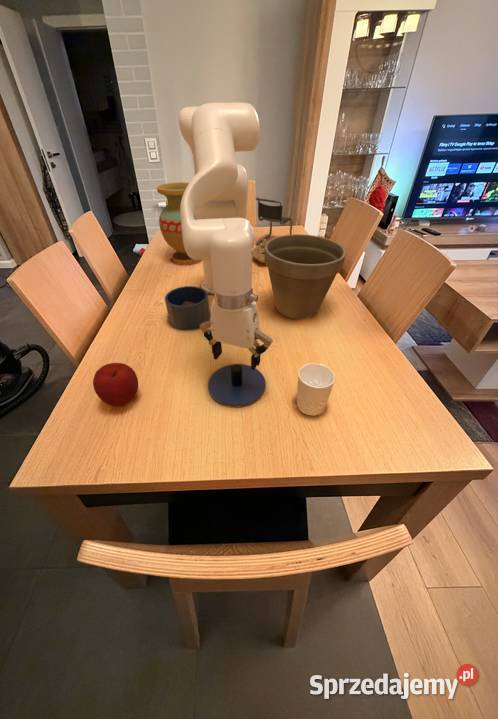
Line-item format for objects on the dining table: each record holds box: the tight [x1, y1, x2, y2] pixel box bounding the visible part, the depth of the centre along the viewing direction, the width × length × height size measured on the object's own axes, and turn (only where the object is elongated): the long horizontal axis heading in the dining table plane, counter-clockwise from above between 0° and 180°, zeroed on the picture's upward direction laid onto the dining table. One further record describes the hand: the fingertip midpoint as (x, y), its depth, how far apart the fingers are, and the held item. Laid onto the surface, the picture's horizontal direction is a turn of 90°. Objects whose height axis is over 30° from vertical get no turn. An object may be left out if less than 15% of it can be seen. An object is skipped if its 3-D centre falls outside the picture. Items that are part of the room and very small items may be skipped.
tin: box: [164, 285, 211, 331], centre depth 98 cm, size 14×14×8 cm
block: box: [181, 301, 196, 306], centre depth 99 cm, size 4×4×4 cm
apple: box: [92, 362, 139, 408], centre depth 70 cm, size 10×10×10 cm
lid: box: [207, 363, 267, 407], centre depth 75 cm, size 15×15×6 cm
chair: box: [255, 196, 293, 246], centre depth 149 cm, size 13×17×22 cm
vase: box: [156, 181, 202, 266], centre depth 131 cm, size 20×20×30 cm
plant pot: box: [264, 233, 347, 320], centre depth 99 cm, size 25×25×22 cm
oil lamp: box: [252, 238, 268, 264], centre depth 135 cm, size 11×15×8 cm
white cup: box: [296, 362, 336, 417], centre depth 69 cm, size 8×8×10 cm
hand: (236, 361), depth 71 cm, fingers open, 9 cm apart
